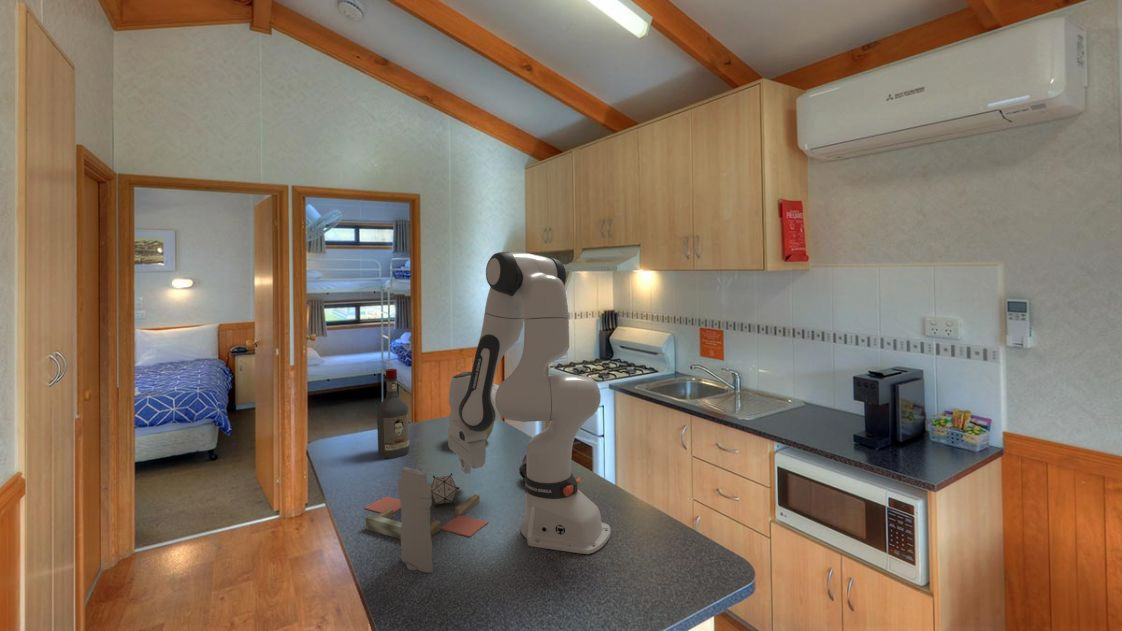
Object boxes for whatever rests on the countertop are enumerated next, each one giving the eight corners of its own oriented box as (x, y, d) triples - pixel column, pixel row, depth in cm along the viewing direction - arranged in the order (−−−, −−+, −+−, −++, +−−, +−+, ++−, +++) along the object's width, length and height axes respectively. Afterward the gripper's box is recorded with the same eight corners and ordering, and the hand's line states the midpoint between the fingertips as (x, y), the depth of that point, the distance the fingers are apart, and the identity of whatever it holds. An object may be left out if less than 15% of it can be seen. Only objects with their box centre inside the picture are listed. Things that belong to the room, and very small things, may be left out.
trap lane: (479, 502, 148) (479, 491, 148) (418, 544, 126) (418, 532, 125) (431, 491, 155) (431, 481, 155) (366, 529, 133) (365, 517, 133)
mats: (488, 523, 136) (488, 521, 136) (469, 537, 129) (469, 536, 129) (385, 497, 151) (385, 496, 151) (364, 508, 144) (364, 507, 144)
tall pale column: (393, 561, 118) (390, 466, 116) (408, 553, 122) (405, 460, 120) (425, 577, 112) (422, 477, 110) (440, 568, 116) (437, 471, 114)
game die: (447, 519, 146) (449, 500, 140) (420, 505, 147) (421, 486, 141) (463, 492, 153) (466, 473, 146) (437, 480, 154) (439, 461, 148)
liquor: (376, 453, 187) (373, 369, 184) (400, 447, 193) (397, 366, 190) (387, 460, 180) (384, 373, 177) (412, 453, 186) (409, 369, 184)
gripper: (442, 418, 162) (443, 462, 164) (468, 439, 145) (469, 487, 147) (461, 415, 165) (462, 458, 167) (489, 434, 148) (490, 481, 150)
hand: (465, 471), depth 157 cm, fingers closed
